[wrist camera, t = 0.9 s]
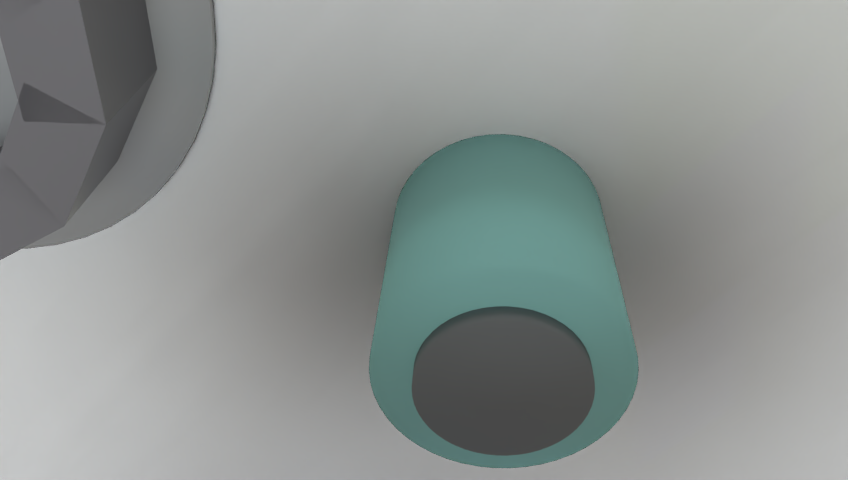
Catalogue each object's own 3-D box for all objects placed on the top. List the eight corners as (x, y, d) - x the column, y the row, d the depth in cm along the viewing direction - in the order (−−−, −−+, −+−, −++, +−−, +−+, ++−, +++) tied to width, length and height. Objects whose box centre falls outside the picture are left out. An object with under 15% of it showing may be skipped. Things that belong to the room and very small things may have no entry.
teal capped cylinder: (588, 314, 20) (619, 491, 15) (394, 305, 20) (369, 476, 15) (616, 138, 17) (665, 289, 13) (393, 129, 17) (362, 274, 13)
